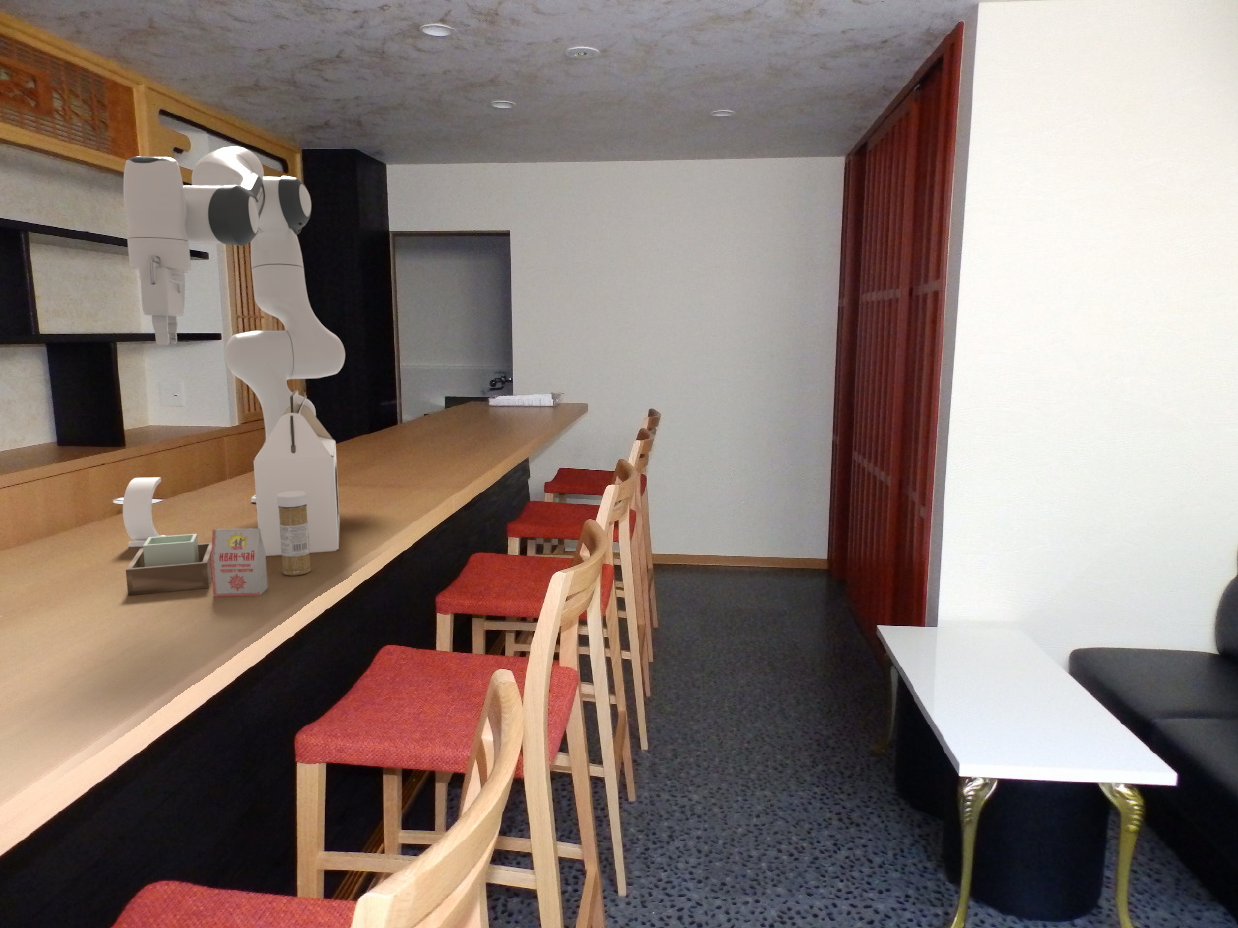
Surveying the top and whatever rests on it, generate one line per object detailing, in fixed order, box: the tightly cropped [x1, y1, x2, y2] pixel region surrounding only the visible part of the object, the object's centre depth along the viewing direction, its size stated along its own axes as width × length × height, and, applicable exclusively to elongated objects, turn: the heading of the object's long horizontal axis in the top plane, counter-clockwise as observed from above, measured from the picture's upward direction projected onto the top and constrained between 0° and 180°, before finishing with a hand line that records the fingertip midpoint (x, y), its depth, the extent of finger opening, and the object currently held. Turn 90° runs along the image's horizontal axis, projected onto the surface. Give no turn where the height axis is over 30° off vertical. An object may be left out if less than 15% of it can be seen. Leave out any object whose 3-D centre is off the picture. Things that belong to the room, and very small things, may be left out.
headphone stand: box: [122, 476, 167, 548], centre depth 155 cm, size 5×6×12 cm
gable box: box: [252, 389, 341, 557], centre depth 158 cm, size 22×13×28 cm, turn 18°
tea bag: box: [211, 527, 268, 598], centre depth 128 cm, size 4×7×10 cm, turn 95°
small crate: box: [142, 533, 199, 567], centre depth 134 cm, size 7×6×6 cm
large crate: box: [125, 542, 212, 596], centre depth 134 cm, size 13×11×4 cm
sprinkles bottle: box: [277, 491, 312, 576], centre depth 137 cm, size 5×5×13 cm
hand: (167, 344), depth 139 cm, fingers open, 8 cm apart
